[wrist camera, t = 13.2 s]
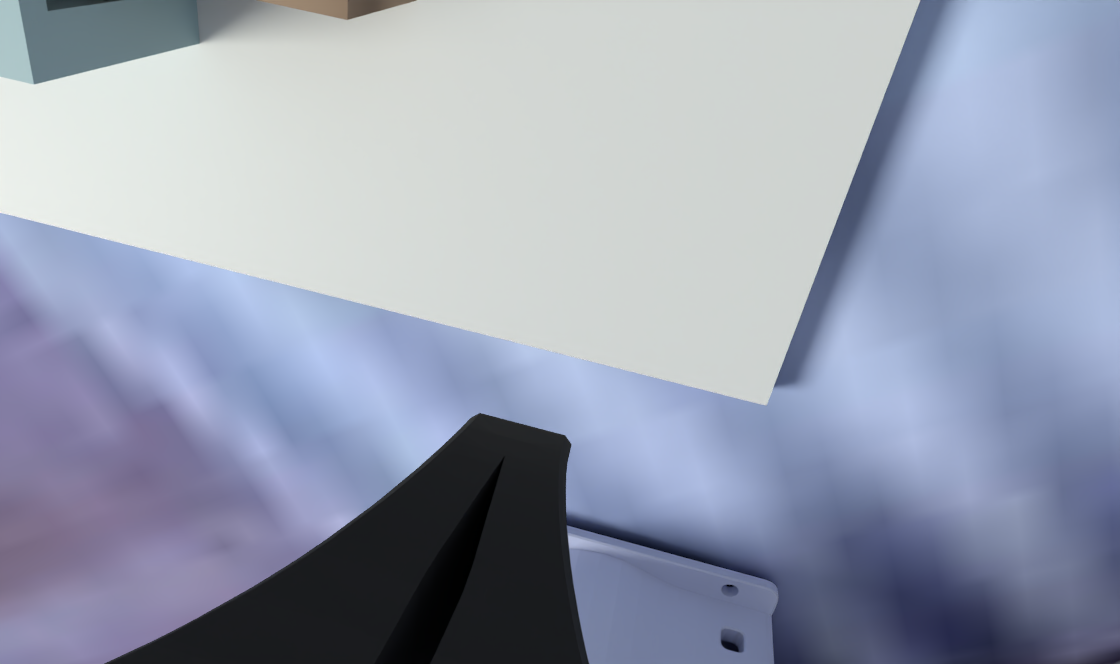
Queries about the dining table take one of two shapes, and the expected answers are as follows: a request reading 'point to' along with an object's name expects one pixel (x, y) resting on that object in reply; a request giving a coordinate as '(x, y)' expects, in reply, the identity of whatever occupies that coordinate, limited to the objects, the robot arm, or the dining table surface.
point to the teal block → (88, 34)
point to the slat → (340, 6)
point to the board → (489, 164)
